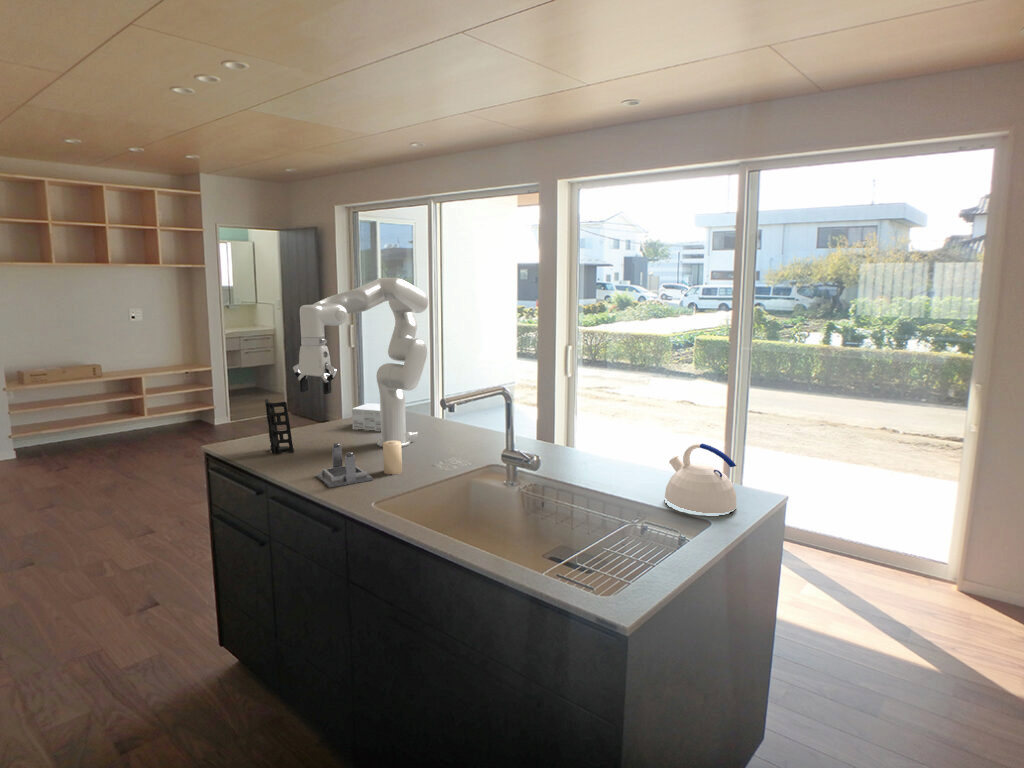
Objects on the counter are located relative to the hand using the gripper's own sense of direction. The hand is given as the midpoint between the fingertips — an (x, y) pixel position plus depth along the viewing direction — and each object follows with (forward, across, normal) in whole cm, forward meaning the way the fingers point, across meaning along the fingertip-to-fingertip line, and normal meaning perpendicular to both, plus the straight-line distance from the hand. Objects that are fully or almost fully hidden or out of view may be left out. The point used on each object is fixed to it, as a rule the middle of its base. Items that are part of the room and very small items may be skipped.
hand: (315, 392), depth 216 cm
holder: (+26, +25, -8) cm, 37 cm away
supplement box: (+26, +14, -56) cm, 63 cm away
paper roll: (+26, -27, -4) cm, 38 cm away
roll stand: (+26, -16, +8) cm, 31 cm away
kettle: (+26, -125, -12) cm, 129 cm away
